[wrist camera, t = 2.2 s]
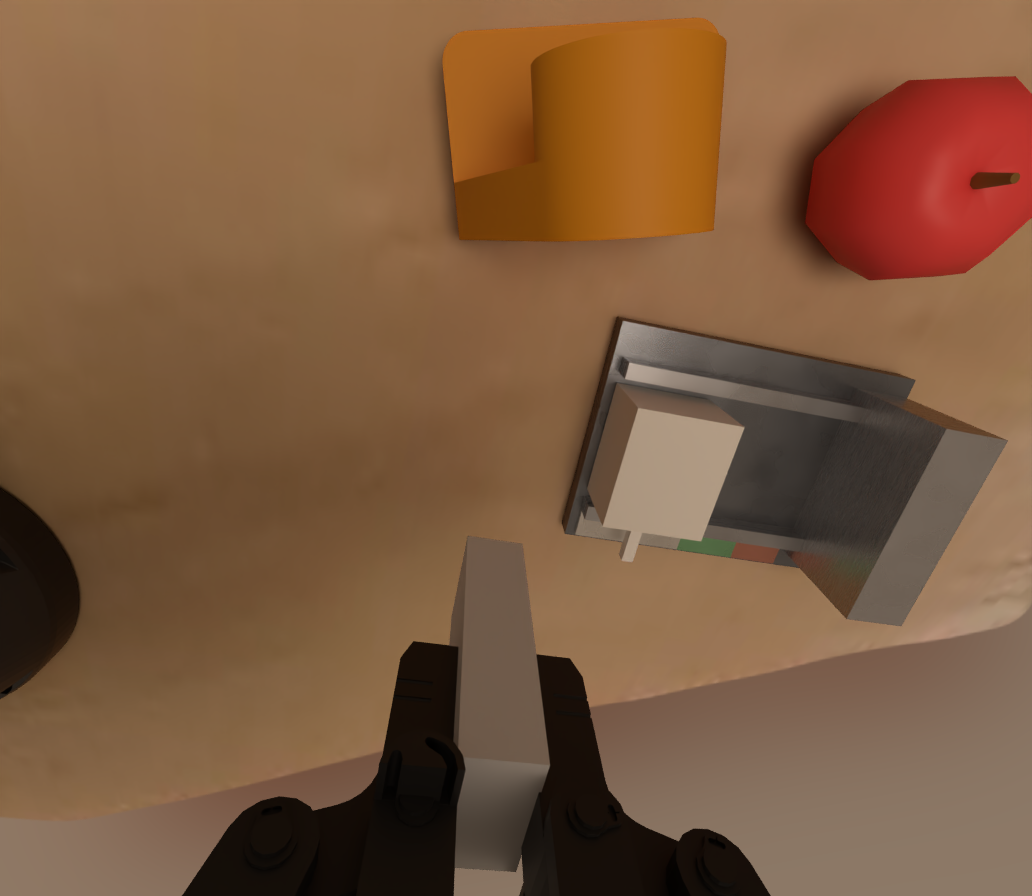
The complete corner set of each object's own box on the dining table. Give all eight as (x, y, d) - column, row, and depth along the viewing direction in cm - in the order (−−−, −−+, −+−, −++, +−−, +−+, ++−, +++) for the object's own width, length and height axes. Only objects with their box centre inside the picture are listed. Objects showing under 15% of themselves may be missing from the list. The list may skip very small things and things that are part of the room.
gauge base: (561, 522, 32) (584, 602, 25) (617, 316, 28) (661, 347, 21) (811, 559, 34) (892, 642, 27) (899, 374, 30) (1020, 418, 23)
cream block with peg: (574, 532, 31) (587, 575, 27) (616, 382, 28) (638, 407, 24) (659, 545, 31) (683, 588, 28) (709, 399, 28) (744, 427, 25)
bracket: (697, 37, 23) (894, -126, 12) (687, 222, 26) (841, 223, 15) (443, 52, 23) (412, -103, 12) (461, 237, 26) (449, 251, 15)
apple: (934, 55, 24) (1135, -16, 17) (957, 232, 27) (1135, 237, 20) (761, 142, 25) (879, 111, 18) (801, 304, 28) (917, 335, 21)
